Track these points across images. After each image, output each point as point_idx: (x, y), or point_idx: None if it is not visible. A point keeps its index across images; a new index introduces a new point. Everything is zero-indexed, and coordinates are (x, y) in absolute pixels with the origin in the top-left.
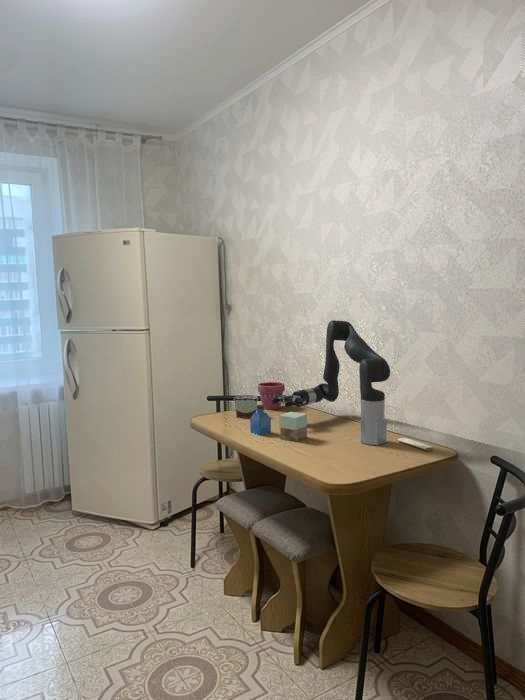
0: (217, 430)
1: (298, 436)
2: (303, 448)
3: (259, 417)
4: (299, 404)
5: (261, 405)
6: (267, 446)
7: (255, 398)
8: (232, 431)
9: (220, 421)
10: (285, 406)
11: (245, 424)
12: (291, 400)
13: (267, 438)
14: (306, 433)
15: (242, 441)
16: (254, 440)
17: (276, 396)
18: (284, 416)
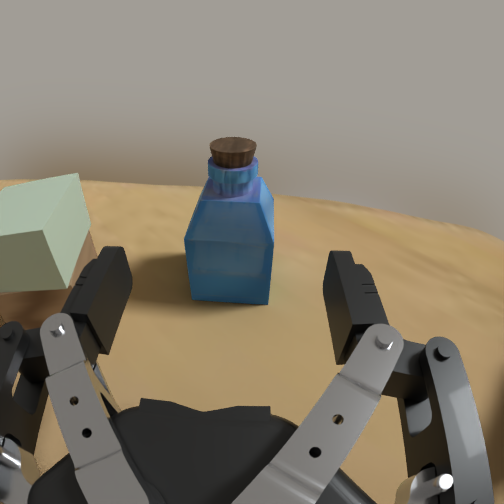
0: (374, 217)
1: None
2: None
3: (205, 184)
4: (27, 409)
5: (224, 145)
6: (104, 207)
7: None
8: (333, 233)
9: (490, 279)
10: (127, 279)
11: (416, 317)
12: (140, 407)
13: (150, 246)
14: (6, 319)
15: None
16: (176, 215)
17: (445, 347)
18: (53, 179)
